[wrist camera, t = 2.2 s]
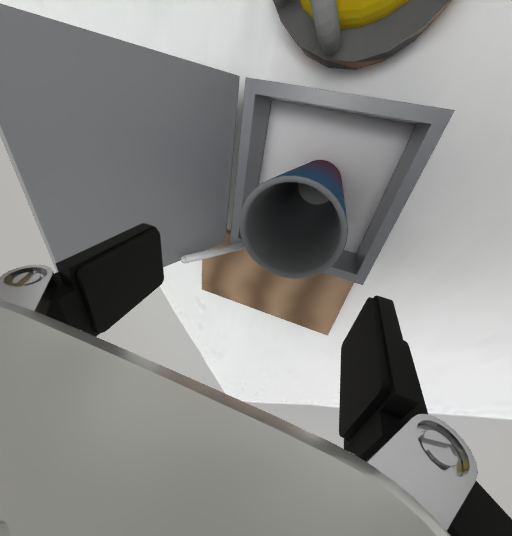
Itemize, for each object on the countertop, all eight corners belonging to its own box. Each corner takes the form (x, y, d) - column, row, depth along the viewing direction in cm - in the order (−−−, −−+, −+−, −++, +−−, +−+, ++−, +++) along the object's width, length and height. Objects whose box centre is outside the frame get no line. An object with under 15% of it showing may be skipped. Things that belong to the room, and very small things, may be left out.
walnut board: (358, 269, 30) (358, 273, 29) (328, 330, 37) (327, 335, 36) (206, 223, 34) (203, 225, 34) (204, 285, 41) (201, 289, 40)
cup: (307, 138, 25) (264, 152, 13) (363, 170, 24) (375, 214, 12) (279, 195, 29) (225, 246, 17) (327, 223, 28) (308, 295, 16)
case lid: (-57, -14, 9) (-61, -11, 9) (72, 302, 18) (66, 294, 18) (239, 76, 20) (229, 75, 20) (225, 242, 29) (218, 238, 29)
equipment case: (434, 113, 20) (506, 102, 11) (361, 263, 29) (365, 329, 20) (242, 81, 24) (169, 53, 15) (229, 223, 33) (179, 264, 24)
